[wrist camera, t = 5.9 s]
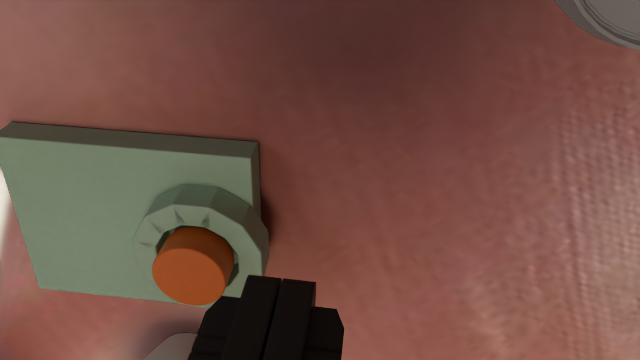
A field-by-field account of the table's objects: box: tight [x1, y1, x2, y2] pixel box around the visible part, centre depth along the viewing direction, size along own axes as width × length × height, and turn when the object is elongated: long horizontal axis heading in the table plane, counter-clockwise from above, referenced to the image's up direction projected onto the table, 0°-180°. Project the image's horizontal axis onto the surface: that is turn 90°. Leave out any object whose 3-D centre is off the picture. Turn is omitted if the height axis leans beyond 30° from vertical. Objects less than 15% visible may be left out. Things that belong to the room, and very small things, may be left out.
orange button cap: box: [152, 227, 234, 306], centre depth 28 cm, size 4×4×2 cm
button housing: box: [0, 122, 269, 308], centre depth 30 cm, size 10×14×4 cm
